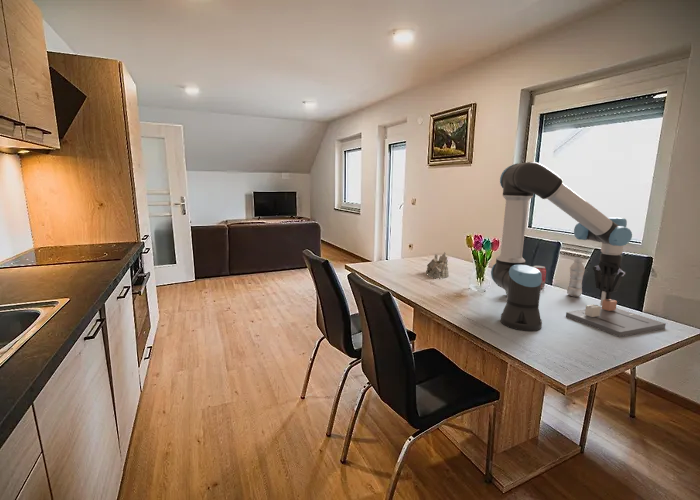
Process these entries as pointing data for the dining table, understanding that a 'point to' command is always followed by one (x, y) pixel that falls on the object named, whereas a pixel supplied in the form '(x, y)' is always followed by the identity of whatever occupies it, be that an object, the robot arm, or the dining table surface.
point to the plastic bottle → (576, 278)
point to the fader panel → (617, 322)
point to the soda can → (543, 272)
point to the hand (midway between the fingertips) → (603, 305)
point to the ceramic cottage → (438, 267)
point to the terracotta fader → (609, 304)
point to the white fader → (592, 310)
